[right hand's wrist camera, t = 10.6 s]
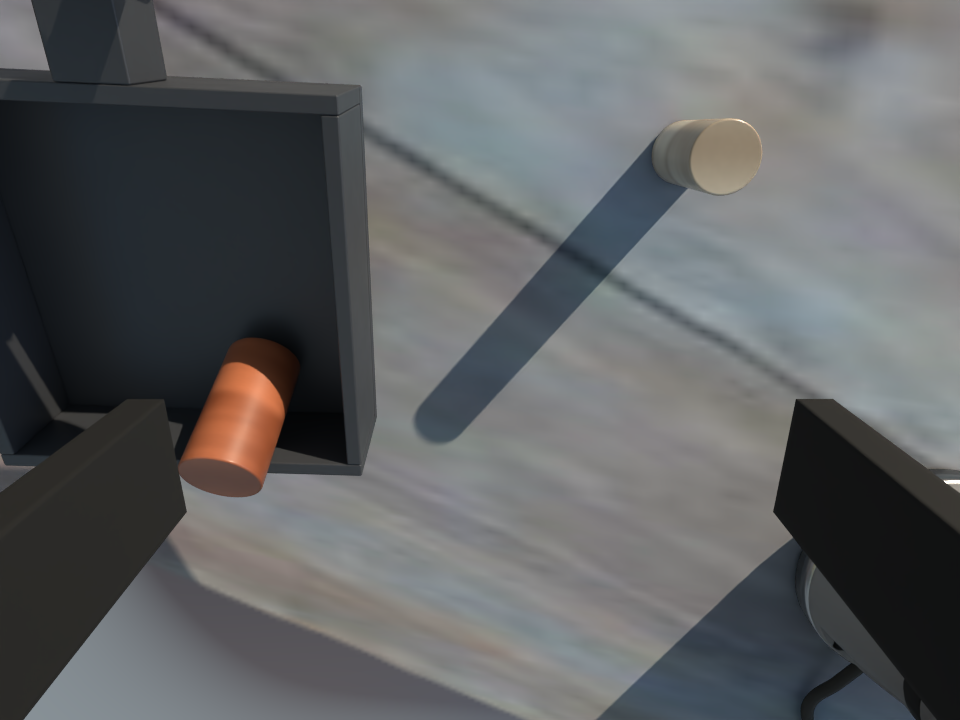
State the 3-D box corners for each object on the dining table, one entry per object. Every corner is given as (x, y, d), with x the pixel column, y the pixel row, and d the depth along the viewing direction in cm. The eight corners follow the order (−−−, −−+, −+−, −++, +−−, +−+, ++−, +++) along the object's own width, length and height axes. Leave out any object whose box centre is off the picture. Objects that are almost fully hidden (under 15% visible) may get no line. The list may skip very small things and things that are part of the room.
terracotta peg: (307, 383, 28) (270, 500, 24) (240, 379, 28) (193, 495, 24) (292, 339, 26) (249, 461, 22) (219, 334, 26) (163, 455, 22)
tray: (377, 417, 30) (361, 476, 26) (68, 407, 30) (4, 466, 26) (347, -234, 19) (311, -310, 14) (-157, -265, 18) (-339, -352, 14)
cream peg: (705, 185, 32) (754, 197, 27) (647, 183, 32) (683, 194, 27) (717, 121, 31) (770, 120, 25) (656, 118, 31) (696, 116, 25)
